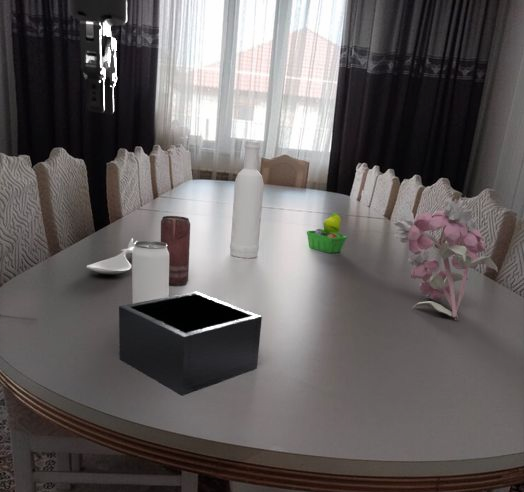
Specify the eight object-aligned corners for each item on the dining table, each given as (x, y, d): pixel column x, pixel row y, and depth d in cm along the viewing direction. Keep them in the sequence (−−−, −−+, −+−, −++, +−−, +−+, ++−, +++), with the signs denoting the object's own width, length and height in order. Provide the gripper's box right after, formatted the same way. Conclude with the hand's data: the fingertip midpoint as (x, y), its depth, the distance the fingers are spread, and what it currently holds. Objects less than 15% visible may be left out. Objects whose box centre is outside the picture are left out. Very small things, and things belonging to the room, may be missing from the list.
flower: (523, 311, 111) (505, 197, 111) (481, 319, 95) (460, 185, 95) (436, 325, 126) (420, 223, 126) (387, 333, 110) (368, 217, 110)
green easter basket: (303, 247, 165) (307, 210, 161) (321, 245, 171) (326, 210, 166) (330, 254, 157) (335, 216, 153) (348, 252, 163) (354, 216, 159)
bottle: (247, 259, 141) (257, 141, 130) (224, 254, 144) (231, 138, 133) (263, 255, 147) (273, 142, 136) (240, 250, 151) (248, 140, 140)
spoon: (163, 253, 139) (164, 240, 138) (120, 282, 110) (120, 266, 108) (131, 249, 140) (131, 236, 139) (79, 277, 110) (78, 261, 109)
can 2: (160, 286, 110) (161, 219, 105) (159, 278, 116) (160, 214, 110) (189, 287, 111) (191, 221, 106) (186, 279, 117) (189, 216, 112)
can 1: (168, 304, 99) (169, 241, 95) (168, 315, 93) (169, 249, 89) (133, 302, 98) (133, 239, 93) (131, 314, 92) (130, 246, 88)
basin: (181, 395, 66) (184, 337, 63) (119, 359, 74) (118, 306, 71) (257, 368, 76) (262, 316, 73) (194, 338, 84) (196, 291, 81)
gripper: (79, -12, 74) (84, 112, 81) (54, -42, 61) (62, 108, 68) (132, -5, 76) (133, 116, 82) (119, -33, 63) (121, 114, 69)
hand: (101, 112), depth 75 cm, fingers open, 8 cm apart
